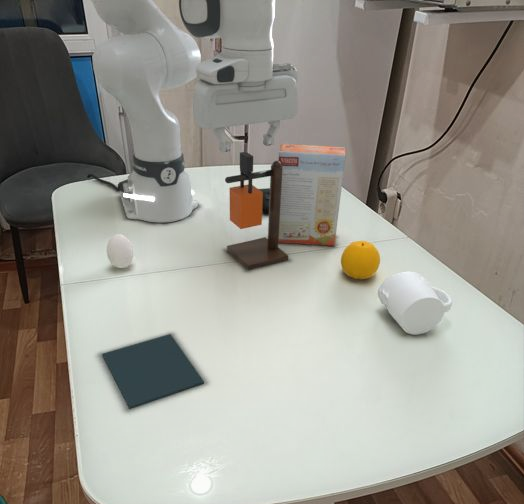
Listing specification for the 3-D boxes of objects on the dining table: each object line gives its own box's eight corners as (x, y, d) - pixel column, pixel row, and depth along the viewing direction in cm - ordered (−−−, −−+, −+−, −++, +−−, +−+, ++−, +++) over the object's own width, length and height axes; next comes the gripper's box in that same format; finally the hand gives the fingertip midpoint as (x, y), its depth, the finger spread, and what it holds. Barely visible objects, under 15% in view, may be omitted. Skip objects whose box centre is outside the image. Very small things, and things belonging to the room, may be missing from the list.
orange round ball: (384, 275, 108) (390, 243, 104) (363, 288, 104) (369, 255, 99) (353, 261, 112) (358, 230, 108) (331, 274, 108) (336, 241, 103)
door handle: (342, 207, 130) (321, 181, 141) (265, 213, 126) (251, 185, 137) (340, 219, 132) (320, 192, 143) (265, 225, 128) (251, 197, 139)
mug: (392, 337, 91) (401, 299, 86) (374, 308, 98) (381, 271, 93) (454, 331, 93) (466, 294, 88) (431, 303, 100) (442, 267, 95)
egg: (111, 275, 105) (106, 242, 100) (107, 263, 108) (102, 231, 104) (137, 271, 106) (133, 238, 102) (132, 259, 110) (128, 227, 105)
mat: (102, 355, 84) (102, 353, 84) (170, 335, 89) (170, 333, 89) (129, 408, 75) (129, 406, 75) (204, 383, 80) (204, 381, 80)
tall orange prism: (229, 220, 108) (229, 152, 99) (250, 215, 110) (251, 148, 101) (240, 229, 104) (241, 160, 96) (261, 224, 106) (264, 156, 98)
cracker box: (334, 235, 122) (345, 145, 109) (334, 247, 118) (346, 154, 105) (276, 231, 123) (280, 141, 110) (274, 242, 118) (278, 150, 105)
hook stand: (216, 253, 114) (213, 161, 101) (266, 241, 119) (269, 152, 106) (237, 273, 107) (237, 177, 94) (288, 260, 112) (295, 167, 100)
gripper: (288, 59, 95) (284, 137, 104) (186, 66, 87) (191, 150, 96) (307, 65, 91) (301, 145, 100) (202, 73, 83) (205, 160, 91)
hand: (247, 147), depth 97 cm, fingers open, 8 cm apart
